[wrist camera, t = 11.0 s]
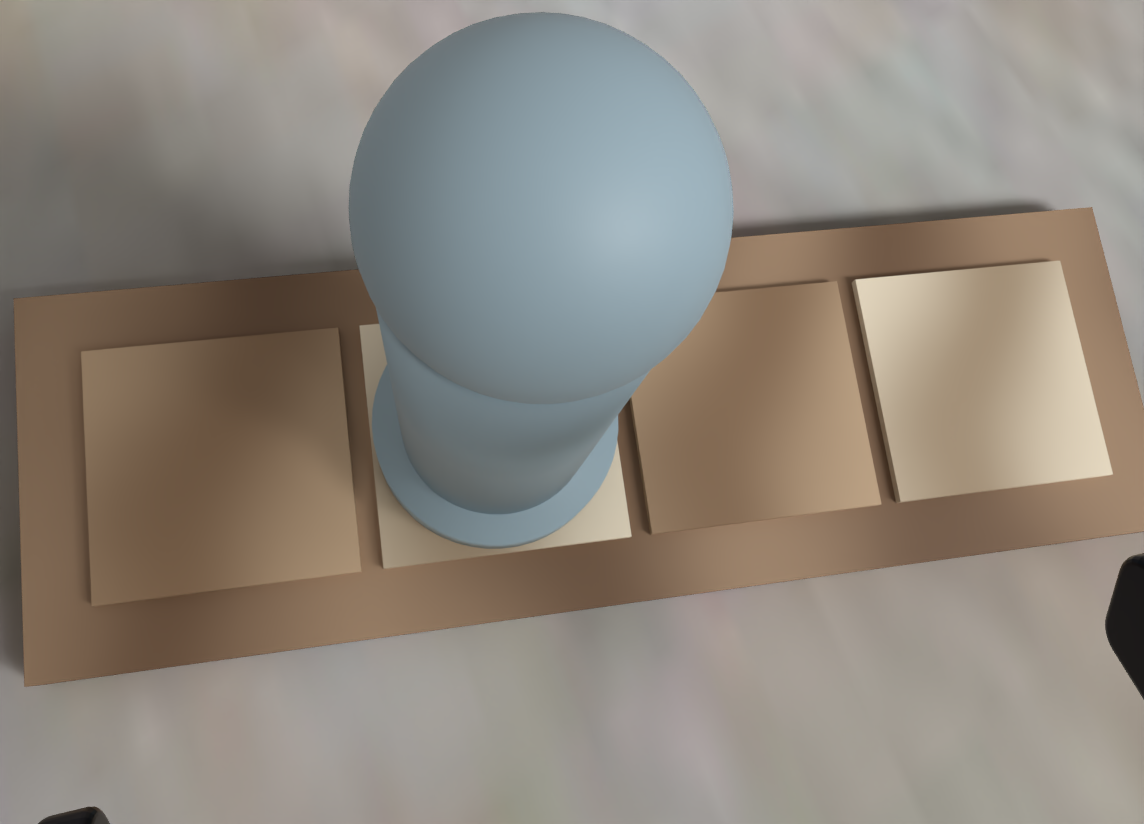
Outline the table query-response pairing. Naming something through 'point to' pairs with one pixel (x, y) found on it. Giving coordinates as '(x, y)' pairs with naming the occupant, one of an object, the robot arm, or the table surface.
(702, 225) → the pawn
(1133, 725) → the table surface
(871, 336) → the board
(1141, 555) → the robot arm
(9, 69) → the table surface
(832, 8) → the table surface
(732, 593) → the table surface
